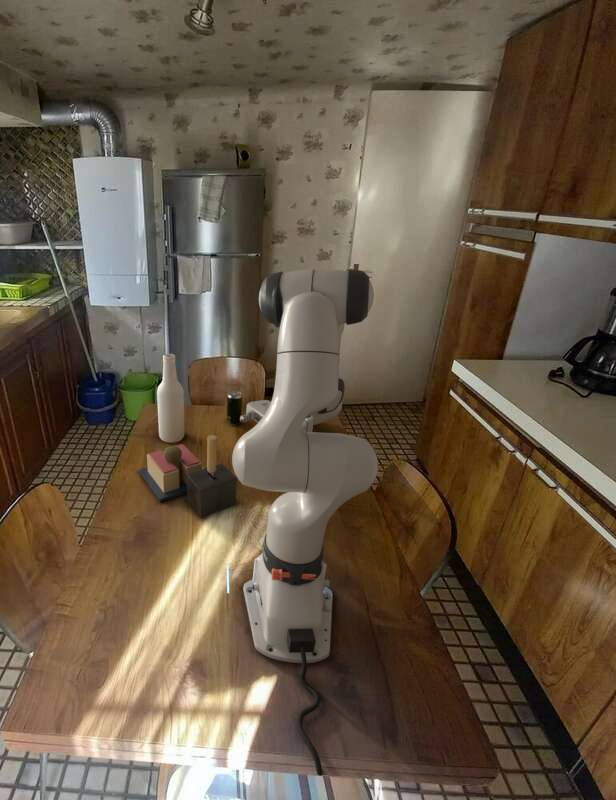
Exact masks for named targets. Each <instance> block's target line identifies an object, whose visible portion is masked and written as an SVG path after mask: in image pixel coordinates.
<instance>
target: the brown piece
mask: <svg viewBox="0 0 616 800" xmlns="http://www.w3.org/2000/svg"><path fill="white" fill-rule="evenodd" d="M176 446H177V445H169V446H167V447H166V448H164V450H163V453H164V458H165V459H166V462H167V463H170V464H173V465H175V467H176V468H177V469H178V470H179V483H180V482H181V481H182V470H181V463H180V458H181V456H182V452H181V449H180V448H179V447H176Z"/></svg>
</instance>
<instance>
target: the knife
mask: <svg viewBox="0 0 616 800" xmlns="http://www.w3.org/2000/svg"><path fill="white" fill-rule="evenodd" d="M206 440H207V441H206V442H207V444H206V445H207V446H206V447H207V449H206V451H207V452H206V456H207V457H206V468H207V471H208V472H209V476H210V477H211V478H212V479H213V480H214V476H215V471H216V465H217V458H218V455H217V453H218V451H217V450H218V436H217V435H214V434H210V435H207V439H206Z"/></svg>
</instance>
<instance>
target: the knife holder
mask: <svg viewBox="0 0 616 800" xmlns="http://www.w3.org/2000/svg"><path fill="white" fill-rule="evenodd" d="M237 488H238V478H237V476H236V475H235V474H234V473H233V472H231V471H230V470H229V468H228V467H226V466H225V465H224V463H218V464H216V471H215V476H214V480H213V479H212V478H211V477H210V476H209V472H208V471H207V467H206V468H202V470H199V471H195V472H192V473H189V474H187V493H186V502H187V503H188V504H189V506H190V507H191V508H192V509H193V511H194V512H195V514H196V515H198V517H199V518H200V519H201V518H205V517H207V516H210V515H213V514H216V513H218V512H221V511H224V510H226V509H229V508H231V507H235V506H236V505H237V490H238V489H237Z"/></svg>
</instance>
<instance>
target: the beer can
mask: <svg viewBox="0 0 616 800" xmlns="http://www.w3.org/2000/svg"><path fill="white" fill-rule="evenodd" d="M226 395H227V396H226V397H227V398H226V423H227V424H228V425H229V426H239V425H240V424H241V423H242V422H241V421H240V417H241V416H242V412H243V411H242V410H243V409H242V408H243V393H242V391H240V390H237V389H233V390H229V391H228V392H227V394H226Z"/></svg>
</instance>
